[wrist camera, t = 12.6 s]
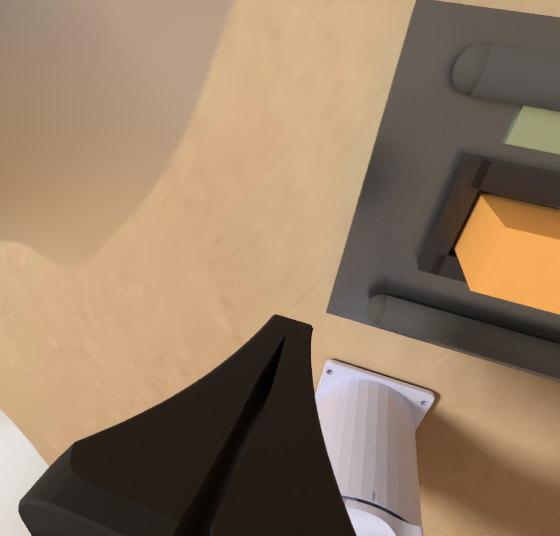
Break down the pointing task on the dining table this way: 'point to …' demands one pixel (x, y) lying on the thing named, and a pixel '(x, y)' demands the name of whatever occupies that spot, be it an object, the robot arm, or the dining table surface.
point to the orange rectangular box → (511, 251)
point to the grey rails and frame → (450, 327)
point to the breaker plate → (448, 173)
